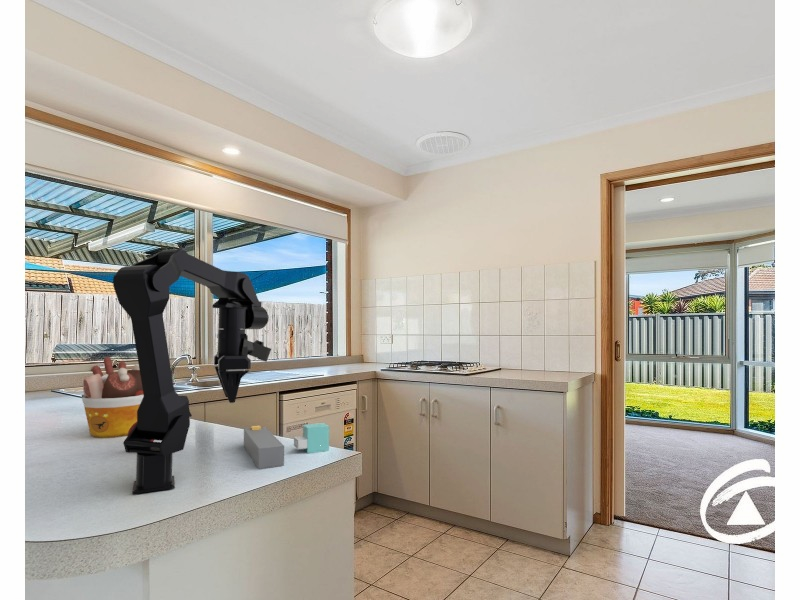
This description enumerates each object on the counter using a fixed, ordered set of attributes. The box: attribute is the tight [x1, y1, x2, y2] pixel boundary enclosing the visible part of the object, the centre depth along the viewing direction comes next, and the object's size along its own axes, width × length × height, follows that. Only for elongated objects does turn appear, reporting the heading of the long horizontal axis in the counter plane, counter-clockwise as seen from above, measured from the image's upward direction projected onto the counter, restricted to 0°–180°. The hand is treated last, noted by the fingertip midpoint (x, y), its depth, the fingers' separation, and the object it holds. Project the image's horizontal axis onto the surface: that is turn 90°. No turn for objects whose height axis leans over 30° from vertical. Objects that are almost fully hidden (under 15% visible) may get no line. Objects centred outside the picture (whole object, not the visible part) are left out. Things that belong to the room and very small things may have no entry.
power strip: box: [243, 425, 285, 470], centre depth 106 cm, size 24×5×5 cm, turn 27°
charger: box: [293, 422, 330, 454], centre depth 108 cm, size 4×7×6 cm, turn 117°
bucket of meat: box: [81, 356, 144, 439], centre depth 127 cm, size 20×16×20 cm
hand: (230, 399), depth 105 cm, fingers open, 9 cm apart
